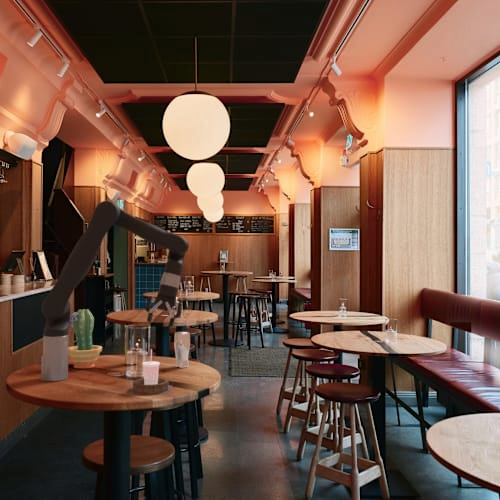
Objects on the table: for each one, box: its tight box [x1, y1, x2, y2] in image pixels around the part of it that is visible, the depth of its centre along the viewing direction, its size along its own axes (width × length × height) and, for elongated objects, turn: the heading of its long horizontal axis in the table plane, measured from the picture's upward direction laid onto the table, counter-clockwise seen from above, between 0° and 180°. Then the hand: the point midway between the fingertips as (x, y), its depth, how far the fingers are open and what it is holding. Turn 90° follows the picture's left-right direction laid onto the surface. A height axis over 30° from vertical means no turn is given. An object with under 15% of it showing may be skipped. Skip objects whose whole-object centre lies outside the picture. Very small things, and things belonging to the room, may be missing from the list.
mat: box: [128, 384, 173, 395], centre depth 190 cm, size 14×12×1 cm
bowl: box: [132, 376, 170, 395], centre depth 190 cm, size 12×12×3 cm
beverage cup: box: [142, 348, 161, 385], centre depth 191 cm, size 6×6×14 cm
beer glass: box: [173, 331, 191, 369], centre depth 232 cm, size 7×7×15 cm
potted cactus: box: [68, 308, 103, 369], centre depth 232 cm, size 15×15×25 cm
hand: (159, 325), depth 209 cm, fingers open, 8 cm apart
